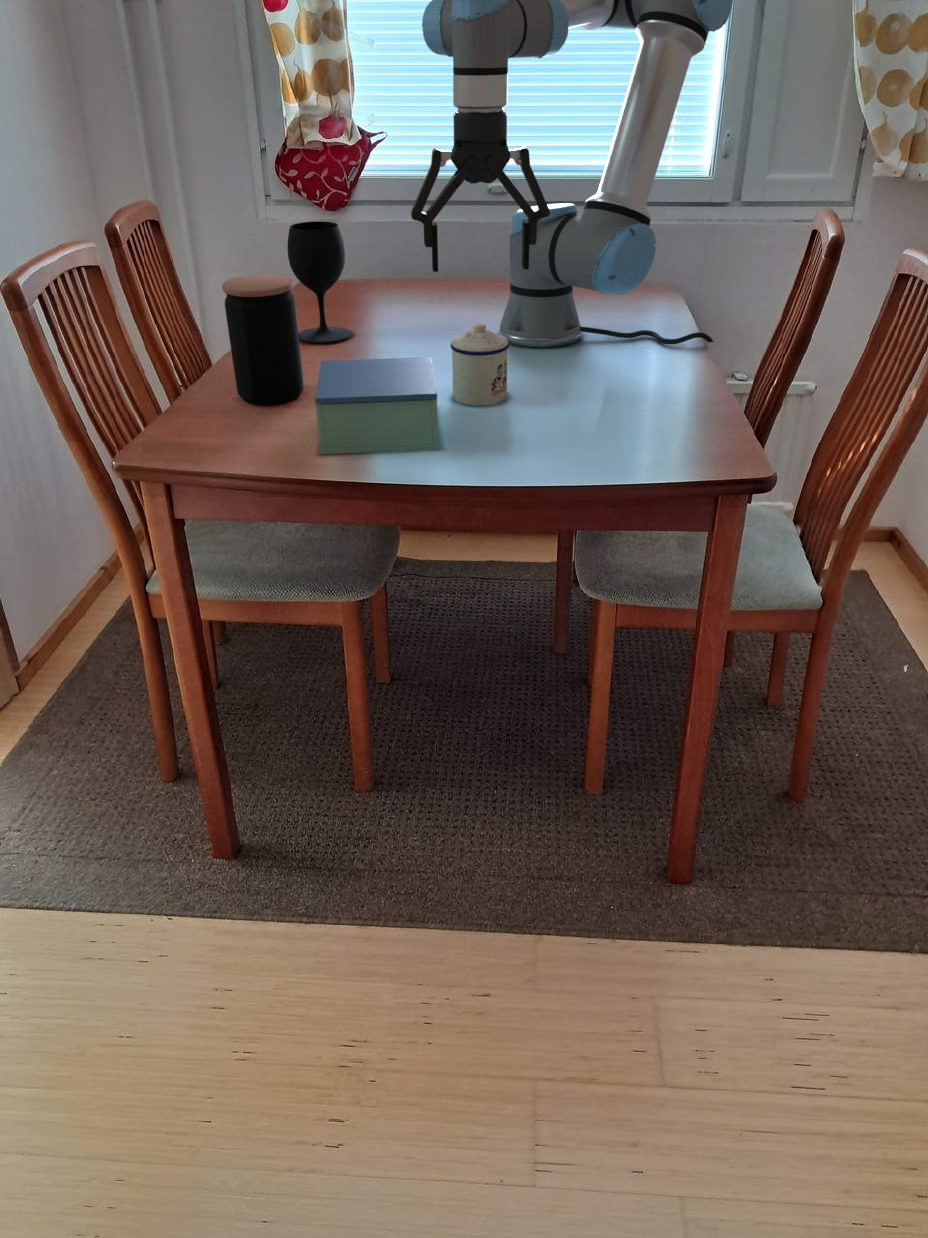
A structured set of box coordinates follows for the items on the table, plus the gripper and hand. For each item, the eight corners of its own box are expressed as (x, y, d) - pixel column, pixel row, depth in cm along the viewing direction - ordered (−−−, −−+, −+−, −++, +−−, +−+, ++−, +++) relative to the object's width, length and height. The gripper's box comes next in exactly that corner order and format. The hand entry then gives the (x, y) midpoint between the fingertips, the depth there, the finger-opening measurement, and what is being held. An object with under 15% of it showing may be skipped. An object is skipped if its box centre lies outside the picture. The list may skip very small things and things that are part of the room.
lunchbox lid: (437, 399, 131) (437, 393, 131) (315, 404, 130) (314, 398, 130) (431, 362, 146) (431, 356, 146) (321, 366, 145) (321, 360, 145)
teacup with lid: (503, 408, 149) (503, 333, 143) (446, 405, 151) (444, 331, 145) (514, 383, 159) (516, 312, 153) (461, 380, 161) (460, 310, 154)
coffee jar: (316, 388, 158) (304, 276, 149) (285, 410, 150) (271, 292, 140) (258, 382, 161) (244, 271, 152) (225, 403, 153) (208, 287, 143)
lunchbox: (438, 449, 136) (436, 399, 132) (321, 454, 135) (315, 404, 131) (432, 408, 150) (431, 362, 146) (326, 412, 149) (321, 366, 145)
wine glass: (286, 341, 181) (273, 229, 171) (314, 326, 189) (303, 218, 179) (335, 346, 178) (325, 232, 167) (360, 331, 186) (352, 221, 175)
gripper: (564, 105, 137) (558, 260, 148) (390, 108, 135) (397, 265, 147) (573, 110, 131) (566, 271, 142) (390, 113, 129) (398, 276, 140)
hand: (480, 268), depth 144 cm, fingers open, 13 cm apart
